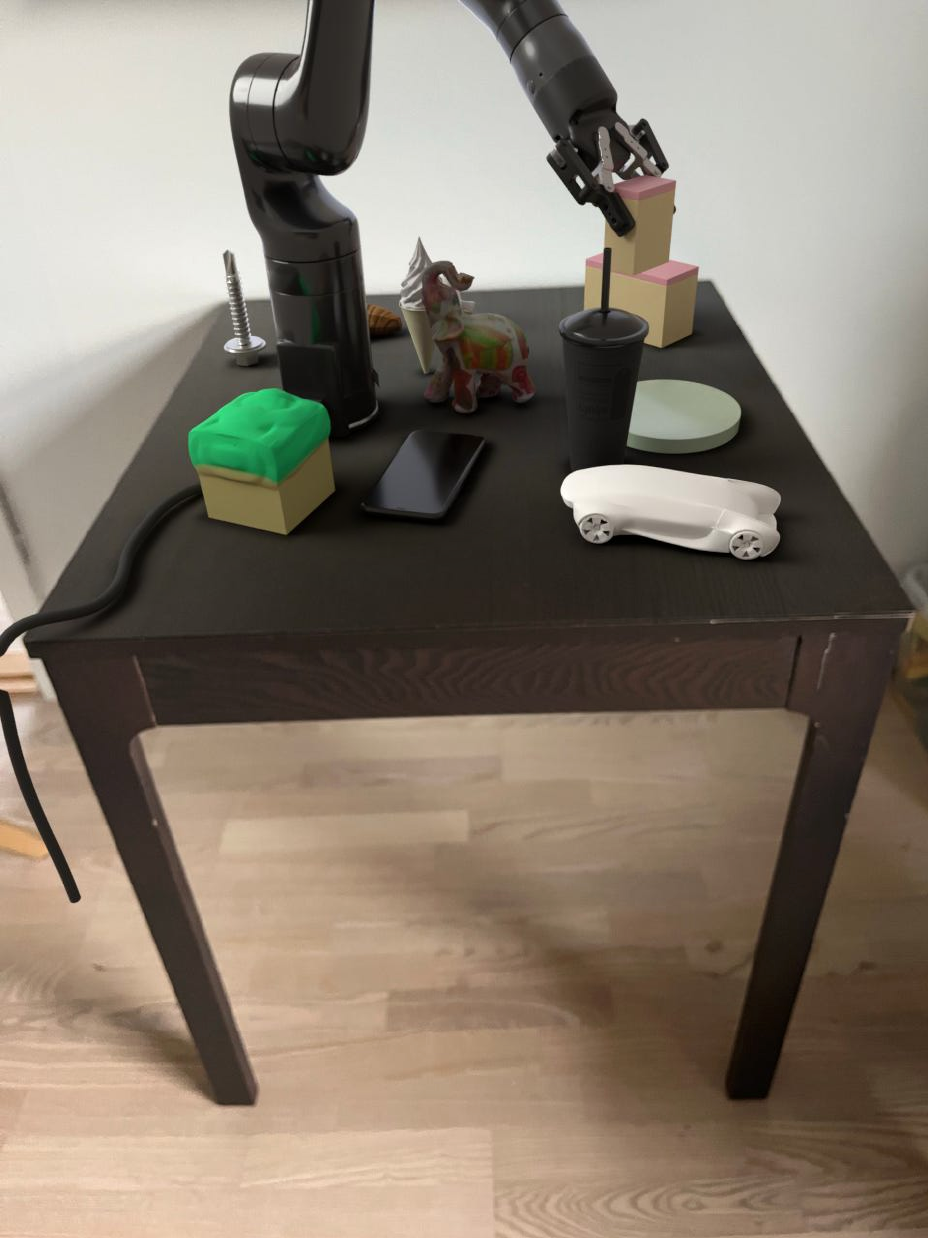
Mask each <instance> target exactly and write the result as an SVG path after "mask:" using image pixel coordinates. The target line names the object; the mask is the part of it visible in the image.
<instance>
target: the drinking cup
mask: <svg viewBox="0 0 928 1238" xmlns="http://www.w3.org/2000/svg"><path fill="white" fill-rule="evenodd" d="M602 250H603V252H602V253H603V271H602V292H601V307H597V308H591V309H587V310H584V309H583V310H581V311H579V312H576V313H572V314H570V315H568V316H566V317H564V318H563V319H562V320H561V321H560V323H558V324H559V325H558V333H559V336H561V339H562V340H561V341H562V353H563V368H564V369H563V370H564V383H565V385H564V387H565V399H566V415H567V430H568V445H569V446H568V447H569V459H570V469H571V473H573V472H575V471H578V470H583V469H588V468H593V467H600V466H609V465H625V458H626V453H627V447H628V446H627V440H628V434H629V428H630V423H631V417H632V411H633V405H634V399H635V393H636V387H637V382H639V375H640V374H639V373H640V369H641V363H642V356H643V353H644V352H643V351H644V344H645V343H644V340H645V338H646V336H647V335H648V333H649V324H648V322H647V321H646V320H645V319H644V318H642V317H640V316H638V315H635V314H632V313H630V312H627V311H625V310H622V309H618V308H612V307H609V295H610V275H611V256H612V248H610V247H606V248H604V247H603V249H602Z"/></svg>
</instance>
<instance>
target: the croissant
mask: <svg viewBox="0 0 928 1238" xmlns="http://www.w3.org/2000/svg"><path fill="white" fill-rule="evenodd" d="M367 311H368V321H369V332H370V337H372V336H374V337H375V336H382V335H383V336H384V335H391V334H395V333H398V332H401V331H402V328H403V321H402V318H401V316H399V315H398V314H396V313H395V312H393V311H392V310H390V309H387V308H385V307H382V306H380V305H377V304H374V303H369V302H368V301H367Z"/></svg>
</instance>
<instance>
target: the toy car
mask: <svg viewBox="0 0 928 1238" xmlns="http://www.w3.org/2000/svg"><path fill="white" fill-rule="evenodd" d="M560 496H561V498H562V500H563V502H564V504H565V505H566V506H567V507H569V508H570V509H573V519H574V521H575V523H576V525H577V527H578V529H579V532H580V534H581V536H582V537H583V538H584V539H585V540H586V541H587V542H589V543H592V544H604V543H607V542H608V541H610V540H611V539H612V538H613V537H615V536H624V535H625V536H627V535H629V536H631V535H632V536H633V535H634V536H642V537H645V538H649V539H653V540H656V541H659V542H660V541H661V542H663V543H668V544H671V545H676V546H680V547H683V548H688V549H693V550H697V551H705V552H706V551H707V552H715V553H725V554H726V553H727V554H728V553H729V554H730V553H731V554H732V556H734V557H735V558H737V559H740V560H743V561H744V560H745V561H751V560H755V559H757V558H758V557H760V558H764V557H765V556H767V555H769V554H771V553H772V552H774V550H775V549H776V548H777V546H778V545H779V543H780V540H781V535H780V533H779V531H778V530H777V526H778V525H777V524H778V522H777V519H776V516H775V515H774V514H775V513H776V511H777V510H778V508H779V506H780V504H781V501H782V496H781V495H780V493H779V492H778V491H776V490H775V489H773V488H772V487H769V486H767V485H764V484H760V483H757V482H753V481H746V480H739V479H733V478H726V477H725V478H724V477H719V476H712V475H705V474H698V473H693V472H687V471H681V470H675V469H669V468H663V467H656V466H649V465H641V464H623V465H609V466H600V467H593V468H588V469H583V470H578V471H575V472H571V473H569V474H568V475H567V476H566V477H565V478H564V480H563V482H562V484H561V486H560ZM590 519H591V521H590ZM601 521H604V522H606V523H601ZM741 536H743V537H742V538H740V537H741ZM754 548H755V549H754Z"/></svg>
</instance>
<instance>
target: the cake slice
mask: <svg viewBox="0 0 928 1238" xmlns="http://www.w3.org/2000/svg"><path fill="white" fill-rule="evenodd" d="M614 188H615V190H614V192H613V193H615V192H618V193H619V195H620V197H621V198H622V200H623V202H624V203H625V205H626V207H627V208H628V210H629V212H630V213H631V215H632V217H633V218H634V220H635V227H634V228H633V229H632V230H631V231H630V232H629V233H628V234H627V235H625V236H622V237H618V236H617V235H616V233H615V232H614V231H613V230H612V229H611V227H610V225H609V223H608V222H607V220H606V219H605V218H604V219H605V221H604V239H603V240H604V241H603V249H604V248H606V247H610V248H612V256H611V270H612V271H616V272H620V273H624V274H628V275H632V276H634V275H637V274H639V273H642V272H644V271H647V270H650V269H652V268H655V267H657V266H660V265H662V264H665V263H667V262H669V260H670V256H671V255H670V254H671V253H670V252H671V242H672V241H671V240H672V234H673V233H672V231H673V221H674V220H673V219H674V214H673V211H674V205H675V199H676V188H677V180H676V179H671V178H666V177H665V178H664V177H661V178H660V177H654V176H648V175H643V174H641V176H639V177H636V178H632V179H629V180H622V181H620V182H615V183H614Z"/></svg>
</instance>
